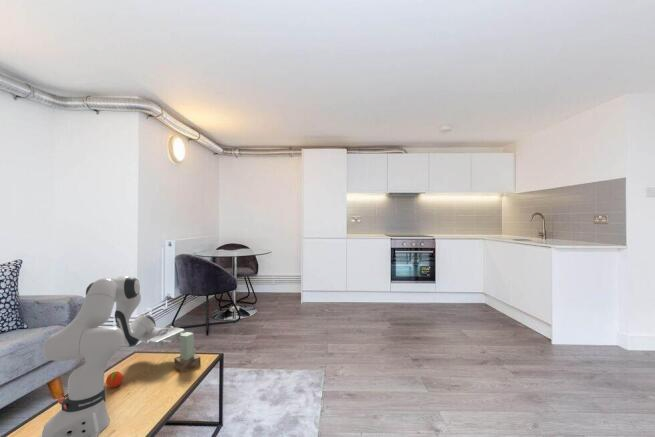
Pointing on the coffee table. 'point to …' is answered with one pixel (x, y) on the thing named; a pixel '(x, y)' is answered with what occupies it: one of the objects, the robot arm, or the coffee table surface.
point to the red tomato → (114, 379)
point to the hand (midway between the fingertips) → (177, 339)
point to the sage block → (186, 345)
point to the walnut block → (187, 363)
